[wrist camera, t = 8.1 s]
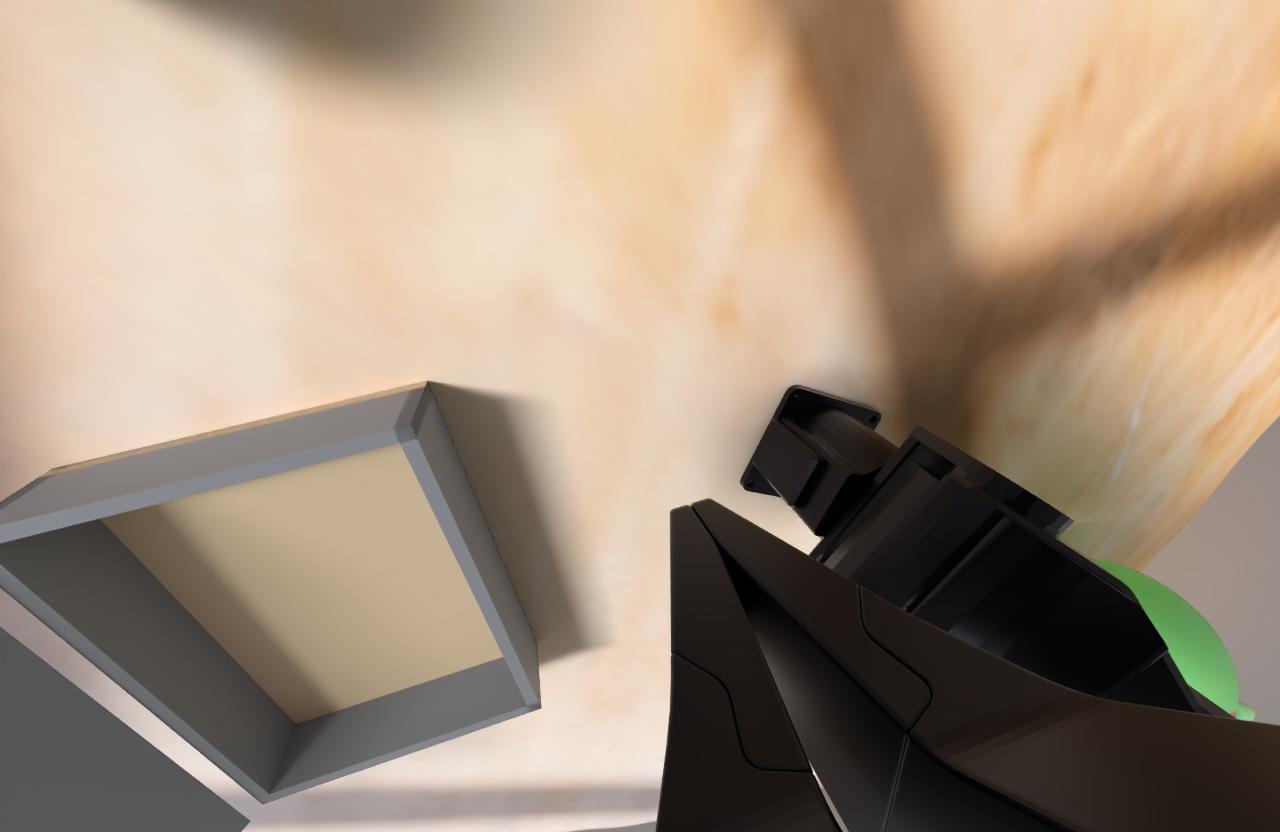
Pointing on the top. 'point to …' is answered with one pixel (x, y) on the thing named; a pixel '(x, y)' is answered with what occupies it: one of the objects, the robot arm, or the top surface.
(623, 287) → the top surface
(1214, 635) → the toy bird
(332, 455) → the box
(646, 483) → the top surface
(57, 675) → the mailer lid
